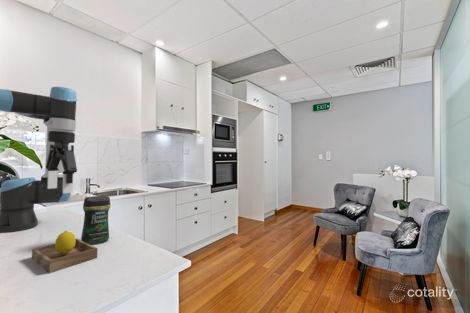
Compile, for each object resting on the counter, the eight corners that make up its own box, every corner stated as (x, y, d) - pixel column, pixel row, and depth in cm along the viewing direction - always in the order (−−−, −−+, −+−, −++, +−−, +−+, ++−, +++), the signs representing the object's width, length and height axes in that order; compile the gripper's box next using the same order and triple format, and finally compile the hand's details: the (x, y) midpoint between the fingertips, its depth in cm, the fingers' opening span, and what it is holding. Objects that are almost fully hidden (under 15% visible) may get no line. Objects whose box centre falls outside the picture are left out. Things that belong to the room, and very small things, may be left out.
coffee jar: (82, 247, 85) (84, 198, 85) (79, 241, 91) (81, 195, 91) (111, 242, 91) (112, 196, 92) (106, 236, 97) (108, 193, 97)
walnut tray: (31, 258, 74) (32, 249, 74) (76, 246, 85) (76, 238, 85) (49, 273, 65) (50, 262, 66) (97, 257, 76) (97, 248, 76)
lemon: (58, 259, 71) (59, 234, 72) (51, 255, 74) (52, 231, 75) (78, 253, 76) (79, 230, 76) (71, 250, 79) (71, 227, 79)
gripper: (36, 131, 84) (34, 187, 84) (64, 129, 70) (61, 196, 70) (60, 133, 90) (58, 185, 90) (90, 131, 77) (87, 193, 77)
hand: (59, 190), depth 80 cm, fingers open, 13 cm apart
